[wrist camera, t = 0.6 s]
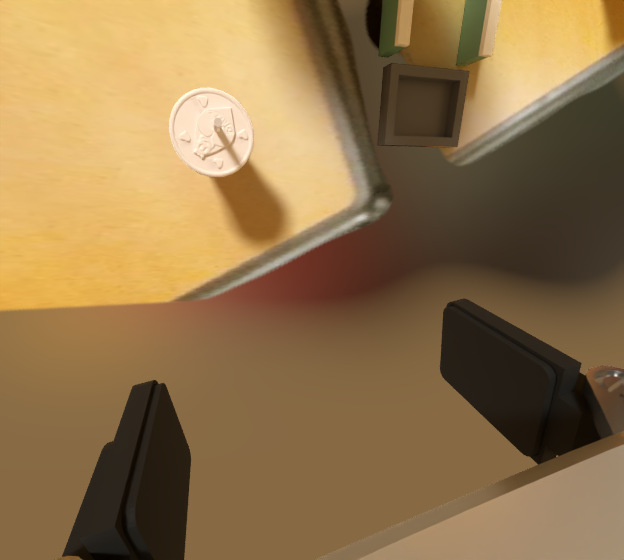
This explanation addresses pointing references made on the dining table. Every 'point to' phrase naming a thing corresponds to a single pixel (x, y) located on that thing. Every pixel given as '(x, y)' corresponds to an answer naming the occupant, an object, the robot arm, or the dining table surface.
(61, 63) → the dining table surface
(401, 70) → the tray
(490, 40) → the tunnel
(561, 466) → the robot arm
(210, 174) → the smoothie
